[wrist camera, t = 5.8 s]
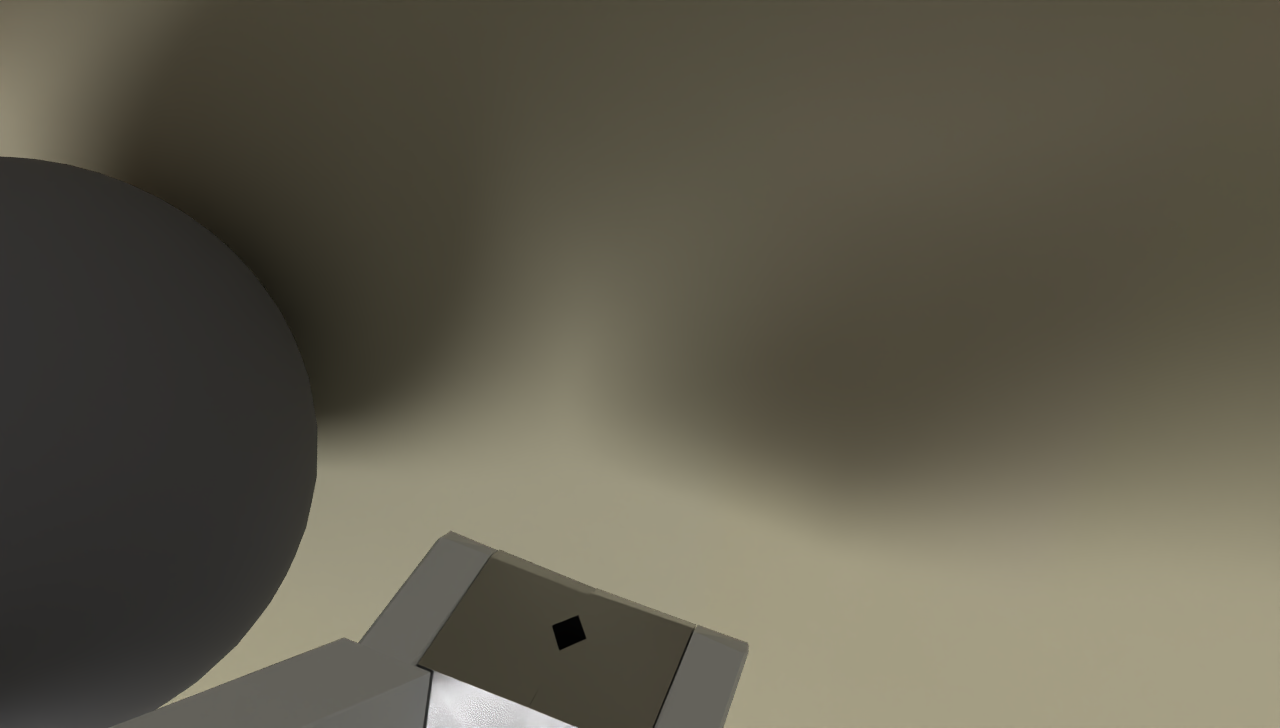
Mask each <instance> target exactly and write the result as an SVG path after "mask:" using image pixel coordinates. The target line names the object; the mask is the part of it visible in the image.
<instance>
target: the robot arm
mask: <svg viewBox="0 0 1280 728" xmlns="http://www.w3.org/2000/svg"><path fill="white" fill-rule="evenodd" d="M695 627H696V624H693V623H690V622H688V621H685V620H682V619H680V618H677V617H674V616H671V615H669V614H666V613H663V612H660V611H658V610H655V609H652V608H650V607H647V606H644V605H641V604H639V603H636V602H633V601H630V600H628V599H625V598H622V597H619V596H617V595H614V594H611V593H609V592H606V591H603V590H600V589H598V588H593V587H591V586H588V585H586V584H583V583H581V582H579V581H576V580H574V579H571V578H569V577H566V576H564V575H561V574H559V573H556V572H554V571H551V570H549V569H546V568H544V567H541V566H539V565H536V564H534V563H532V562H529V561H527V560H524V559H522V558H519V557H517V556H514V555H512V554H509V553H507V552H504V551H502V550H499V551H498V550H496V549H493V548H491V547H489V546H486V545H484V544H481V543H479V542H476V541H474V540H472V539H469V538H467V537H464V536H462V535H459V534H457V533H455V532H452V531H450V532H448V533H447V534H445V535H444V536H442V537H441V538H439V539H438V540H437V541H436V542H435V544H434V545H433V546H432V548H431V549H430V550H429V551H428V553H427V554H426V555H425V557H424V558H423V559H422V561H421V562H420V563H419V564H418V566H417V567H416V568H415V570H414V571H413V572H412V574H411V575H410V576H409V577H408V579H407V580H406V581H405V583H404V584H403V585H402V587H401V588H400V589H399V591H398V592H397V593H396V594H395V596H394V597H393V598H392V600H391V601H390V602H389V604H388V605H387V606H386V607H385V609H384V610H383V611H382V613H381V614H380V615H379V617H378V618H377V619H376V621H375V622H374V623H373V624H372V626H371V627H370V628H369V630H368V631H367V632H366V634H365V635H364V636H363V637H362V639H361V640H360V641H359V643H357V642H354V641H352V640H349V639H346V638H341V639H339V640H336V641H333V642H331V643H328V644H326V645H323V646H320V647H318V648H315V649H313V650H310V651H307V652H305V653H302V654H300V655H297V656H294V657H292V658H289V659H287V660H284V661H281V662H279V663H276V664H274V665H271V666H268V667H266V668H263V669H261V670H258V671H255V672H253V673H250V674H248V675H245V676H242V677H240V678H237V679H235V680H232V681H229V682H227V683H224V684H222V685H219V686H216V687H214V688H211V689H209V690H206V691H203V692H201V693H198V694H196V695H193V696H190V697H188V698H185V699H183V700H180V701H177V702H175V703H172V704H170V705H167V706H164V707H162V708H159V709H157V710H154V711H151V712H149V713H146V714H144V715H141V716H138V717H136V718H133V719H131V720H128V721H125V722H123V723H120V724H118V725H115V726H112V727H110V728H723V727H724V724H725V721H726V718H727V715H728V712H729V709H730V706H731V703H732V700H733V697H734V694H735V691H736V688H737V685H738V682H739V679H740V676H741V673H742V670H743V667H744V664H745V661H746V658H747V655H748V652H749V645H748V643H747V642H744V641H741V640H739V639H736V638H733V637H730V636H728V635H725V634H722V633H719V632H716V631H714V630H711V629H708V628H705V627H703V626H700V625H697V627H696V628H695Z"/></svg>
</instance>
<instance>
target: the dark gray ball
mask: <svg viewBox="0 0 1280 728" xmlns="http://www.w3.org/2000/svg"><path fill="white" fill-rule="evenodd" d="M316 477H317V421H316V415H315V410H314V404H313V398H312V392H311V387H310V381H309V377H308V374H307V371H306V368H305V365H304V362H303V360H302V357H301V354H300V351H299V349H298V347H297V344H296V342H295V339H294V337H293V334H292V332H291V331H290V329H289V327H288V325H287V323H286V321H285V319H284V317H283V315H282V313H281V311H280V310H279V308H278V307H277V305H276V304H275V303H274V301H273V300H272V298H271V297H270V295H269V294H268V293H267V291H266V290H265V288H264V287H263V286H262V284H261V283H260V282H259V280H258V279H257V278H256V276H255V275H254V274H253V273H252V272H251V271H250V269H249V268H248V267H247V266H246V265H245V264H244V263H243V262H242V261H241V259H240V258H239V257H238V256H237V255H236V254H235V253H234V252H233V251H232V250H231V249H230V248H229V247H227V246H226V245H225V244H224V243H223V242H222V241H221V240H220V239H219V238H217V237H216V236H215V235H214V234H213V233H212V232H210V231H209V230H207V229H206V228H205V227H203V226H202V225H201V224H199V223H198V222H197V221H195V220H194V219H192V218H191V217H190V216H188V215H187V214H185V213H183V212H182V211H180V210H178V209H177V208H175V207H173V206H172V205H170V204H168V203H167V202H165V201H163V200H162V199H160V198H158V197H156V196H154V195H151V194H149V193H147V192H145V191H143V190H141V189H139V188H137V187H135V186H133V185H130V184H128V183H125V182H122V181H120V180H117V179H114V178H111V177H109V176H106V175H103V174H101V173H97V172H94V171H90V170H86V169H82V168H79V167H75V166H71V165H67V164H61V163H55V162H49V161H43V160H37V159H28V158H16V157H0V728H110V727H112V726H115V725H118V724H120V723H123V722H125V721H128V720H131V719H133V718H136V717H138V716H141V715H144V714H146V713H149V712H151V711H154V710H156V709H157V708H159V707H160V706H162V705H164V704H165V703H167V702H168V701H170V700H171V699H173V698H174V697H176V696H177V695H178V694H180V693H181V692H183V691H184V690H186V689H187V688H189V687H190V686H192V685H193V684H195V683H196V682H197V681H198V680H199V679H201V678H202V677H203V676H204V675H205V674H206V673H207V672H208V671H209V670H210V669H212V668H213V667H214V666H215V665H216V664H217V663H218V662H219V661H220V660H221V659H222V658H224V657H225V656H226V655H227V654H228V653H229V652H230V651H231V650H232V649H233V648H234V647H235V646H237V644H238V643H239V642H240V641H241V639H242V638H243V637H244V636H245V635H246V633H247V632H248V631H249V630H250V628H251V627H252V626H253V625H254V623H255V622H256V621H257V620H258V618H259V617H260V616H261V614H262V613H263V612H264V610H265V609H266V608H267V606H268V605H269V603H270V602H271V600H272V599H273V597H274V595H275V594H276V592H277V590H278V588H279V587H280V585H281V583H282V581H283V580H284V578H285V576H286V574H287V572H288V570H289V568H290V566H291V563H292V561H293V559H294V557H295V555H296V552H297V550H298V547H299V544H300V542H301V539H302V536H303V534H304V531H305V529H306V525H307V521H308V516H309V512H310V507H311V503H312V498H313V492H314V487H315V482H316Z"/></svg>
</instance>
